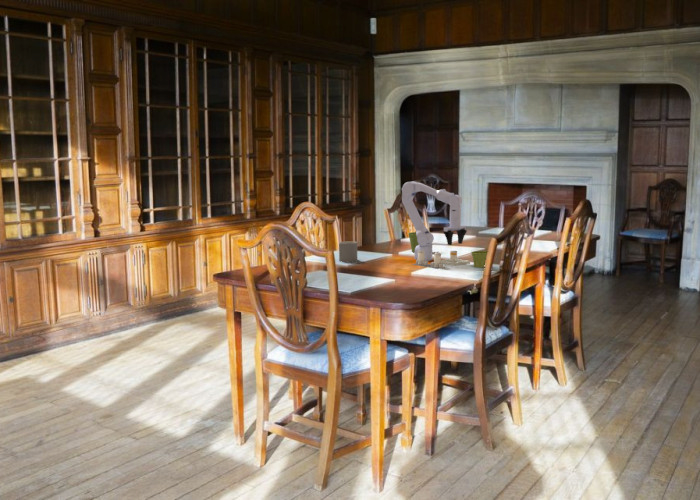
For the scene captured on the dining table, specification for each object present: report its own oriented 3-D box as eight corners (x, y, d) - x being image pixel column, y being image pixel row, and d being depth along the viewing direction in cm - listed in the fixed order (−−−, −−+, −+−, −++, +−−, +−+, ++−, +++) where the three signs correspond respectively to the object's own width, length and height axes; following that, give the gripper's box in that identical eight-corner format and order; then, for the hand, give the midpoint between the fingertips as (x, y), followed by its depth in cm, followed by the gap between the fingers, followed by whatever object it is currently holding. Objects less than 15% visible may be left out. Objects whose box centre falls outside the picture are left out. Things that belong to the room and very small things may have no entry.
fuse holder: (411, 267, 369) (411, 260, 368) (421, 265, 373) (421, 259, 372) (437, 271, 353) (437, 264, 353) (447, 270, 358) (447, 263, 357)
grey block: (352, 262, 387) (352, 244, 386) (336, 261, 392) (335, 243, 390) (363, 259, 399) (362, 241, 398) (346, 258, 403) (346, 240, 402)
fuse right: (432, 267, 358) (432, 253, 358) (437, 266, 361) (437, 252, 360) (437, 268, 356) (437, 254, 355) (442, 267, 358) (442, 253, 357)
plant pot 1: (427, 250, 430) (427, 231, 428) (427, 253, 418) (427, 234, 417) (407, 250, 431) (407, 231, 430) (407, 253, 420) (407, 234, 418)
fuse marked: (448, 264, 372) (448, 251, 371) (453, 263, 374) (453, 250, 373) (453, 265, 369) (453, 251, 368) (458, 264, 371) (458, 251, 370)
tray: (436, 265, 373) (436, 260, 373) (453, 263, 380) (453, 258, 380) (453, 268, 363) (453, 263, 363) (470, 265, 370) (470, 260, 370)
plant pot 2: (475, 271, 354) (476, 253, 352) (467, 268, 363) (467, 251, 361) (493, 270, 356) (493, 253, 355) (484, 267, 365) (485, 250, 364)
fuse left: (416, 264, 368) (416, 250, 367) (421, 263, 370) (421, 250, 369) (420, 265, 365) (421, 251, 364) (426, 264, 367) (426, 250, 366)
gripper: (450, 219, 367) (450, 246, 369) (470, 217, 376) (470, 243, 378) (440, 218, 373) (440, 244, 375) (460, 217, 381) (460, 242, 383)
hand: (455, 244), depth 376 cm, fingers open, 7 cm apart
